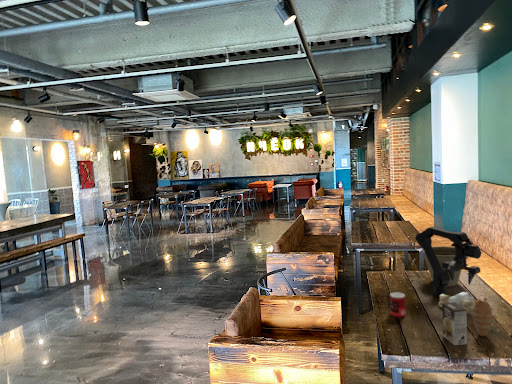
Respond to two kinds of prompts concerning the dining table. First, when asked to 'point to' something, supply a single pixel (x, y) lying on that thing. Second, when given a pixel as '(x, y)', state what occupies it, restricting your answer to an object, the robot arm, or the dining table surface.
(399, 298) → the canned food
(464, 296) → the slotted bar
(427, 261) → the plant pot
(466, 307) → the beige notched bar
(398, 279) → the dining table surface
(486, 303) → the cat ice cream
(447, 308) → the coffee box
